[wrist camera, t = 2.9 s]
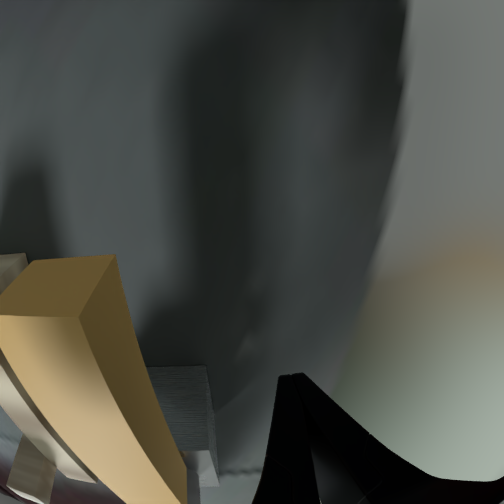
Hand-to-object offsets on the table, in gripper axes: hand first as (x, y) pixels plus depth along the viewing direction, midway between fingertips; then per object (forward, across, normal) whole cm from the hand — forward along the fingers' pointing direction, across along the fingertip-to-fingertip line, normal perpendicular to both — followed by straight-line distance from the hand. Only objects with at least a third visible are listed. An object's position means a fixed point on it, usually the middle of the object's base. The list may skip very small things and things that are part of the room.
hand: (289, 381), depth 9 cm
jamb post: (+8, +6, +10) cm, 14 cm away
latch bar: (+1, +6, +4) cm, 7 cm away
